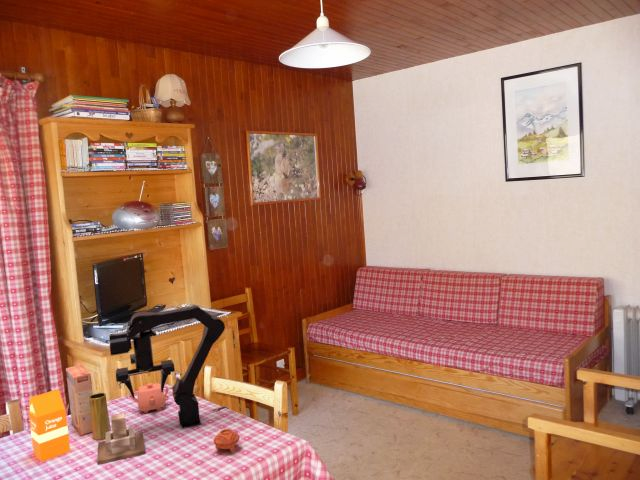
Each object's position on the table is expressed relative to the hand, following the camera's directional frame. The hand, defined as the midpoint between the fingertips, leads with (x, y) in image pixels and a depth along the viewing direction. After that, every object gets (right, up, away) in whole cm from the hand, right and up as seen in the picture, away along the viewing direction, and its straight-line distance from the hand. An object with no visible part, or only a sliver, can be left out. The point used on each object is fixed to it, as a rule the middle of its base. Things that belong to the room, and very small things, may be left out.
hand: (147, 394), depth 187 cm
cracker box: (-25, -14, +9) cm, 30 cm away
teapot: (-5, -12, +20) cm, 24 cm away
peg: (-5, -14, -11) cm, 18 cm away
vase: (-16, -14, +1) cm, 21 cm away
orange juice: (-28, -16, -9) cm, 34 cm away
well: (-5, -15, -10) cm, 19 cm away
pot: (+30, -13, -15) cm, 36 cm away
